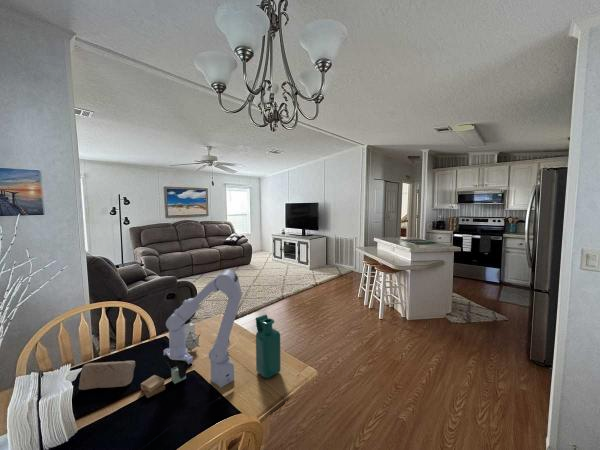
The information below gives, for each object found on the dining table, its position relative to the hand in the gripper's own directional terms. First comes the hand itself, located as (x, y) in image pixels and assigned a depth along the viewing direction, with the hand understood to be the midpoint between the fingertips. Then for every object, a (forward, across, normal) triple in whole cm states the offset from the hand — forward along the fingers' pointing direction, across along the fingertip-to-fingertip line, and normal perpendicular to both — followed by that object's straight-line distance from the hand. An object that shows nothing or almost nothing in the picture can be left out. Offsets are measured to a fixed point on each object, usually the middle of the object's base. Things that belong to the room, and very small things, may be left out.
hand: (178, 375), depth 103 cm
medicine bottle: (+2, +25, -24) cm, 34 cm away
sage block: (+2, 0, 0) cm, 2 cm away
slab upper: (0, +4, +8) cm, 9 cm away
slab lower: (+2, +4, +8) cm, 9 cm away
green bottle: (+2, -29, -20) cm, 35 cm away
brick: (+2, +21, +14) cm, 26 cm away
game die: (+2, +12, -16) cm, 20 cm away
